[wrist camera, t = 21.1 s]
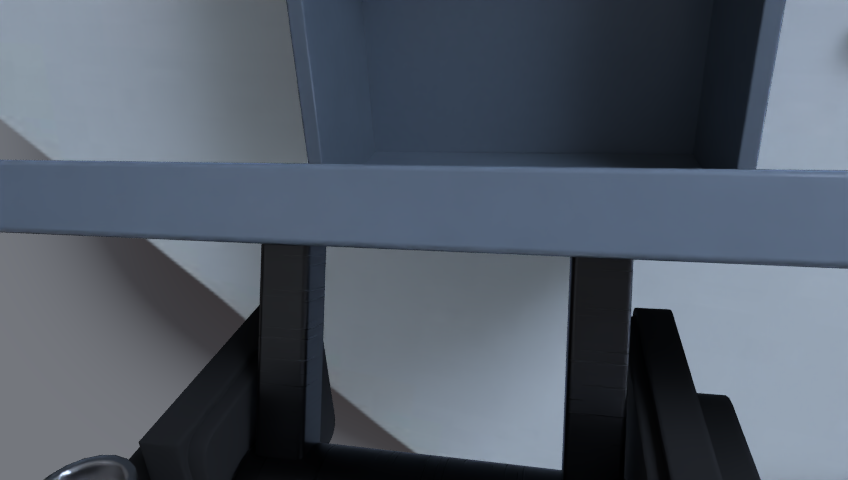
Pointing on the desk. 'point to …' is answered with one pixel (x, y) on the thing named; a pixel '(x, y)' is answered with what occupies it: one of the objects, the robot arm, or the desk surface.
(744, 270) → the desk surface
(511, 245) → the lid
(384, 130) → the open hinged box
